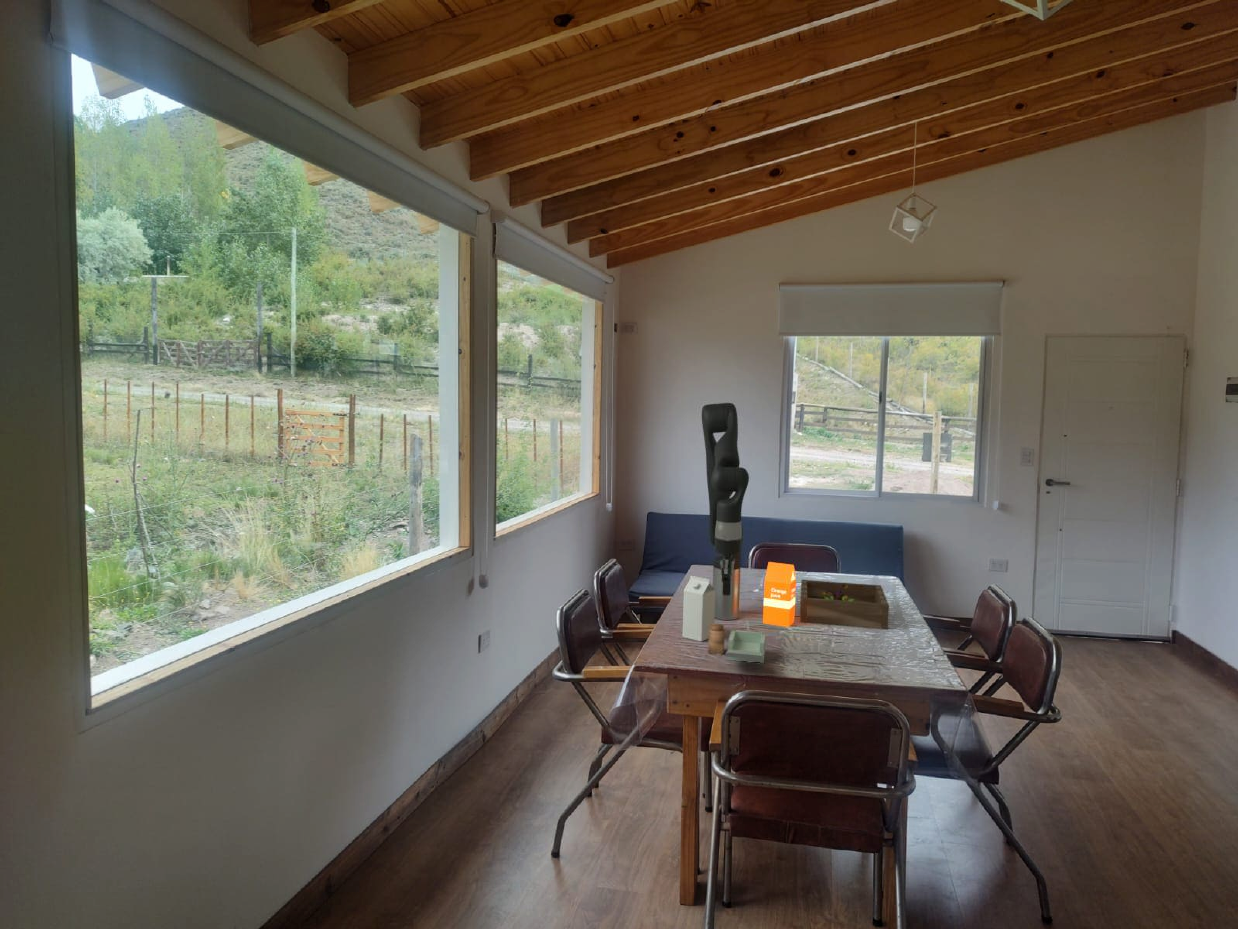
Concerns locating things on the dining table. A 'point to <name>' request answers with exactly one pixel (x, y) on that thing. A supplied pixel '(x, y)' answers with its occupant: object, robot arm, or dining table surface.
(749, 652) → the panel
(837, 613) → the planter frame
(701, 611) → the milk carton
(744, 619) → the dining table surface
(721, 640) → the brown ridged cylinder
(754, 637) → the crate
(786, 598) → the orange juice
